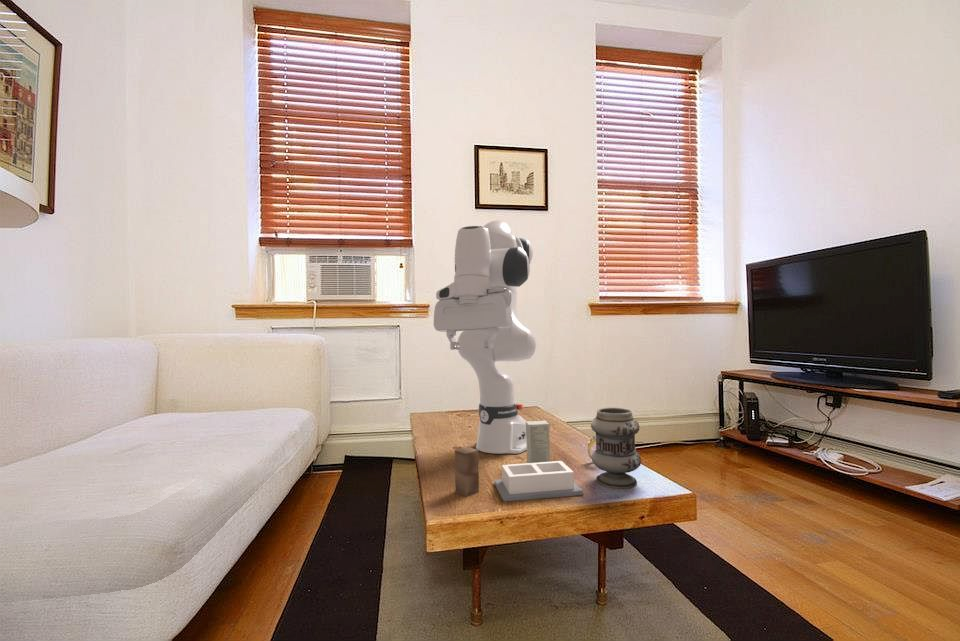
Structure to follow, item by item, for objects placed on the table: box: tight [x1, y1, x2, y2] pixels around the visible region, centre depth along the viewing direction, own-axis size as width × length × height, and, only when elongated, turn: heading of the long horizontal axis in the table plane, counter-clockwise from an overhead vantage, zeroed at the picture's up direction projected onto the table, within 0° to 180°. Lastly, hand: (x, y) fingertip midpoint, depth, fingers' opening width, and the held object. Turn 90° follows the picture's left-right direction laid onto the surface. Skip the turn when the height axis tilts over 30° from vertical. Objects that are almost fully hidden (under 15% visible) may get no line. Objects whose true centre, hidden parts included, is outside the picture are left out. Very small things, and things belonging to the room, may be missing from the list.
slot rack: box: [493, 460, 584, 502], centre depth 104 cm, size 19×11×5 cm, turn 99°
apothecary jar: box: [590, 407, 642, 489], centre depth 108 cm, size 12×12×18 cm
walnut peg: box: [454, 446, 480, 497], centre depth 103 cm, size 4×4×10 cm
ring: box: [586, 433, 596, 460], centre depth 123 cm, size 7×3×8 cm, turn 93°
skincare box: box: [526, 420, 551, 463], centre depth 122 cm, size 6×4×12 cm
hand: (471, 349), depth 100 cm, fingers open, 8 cm apart
